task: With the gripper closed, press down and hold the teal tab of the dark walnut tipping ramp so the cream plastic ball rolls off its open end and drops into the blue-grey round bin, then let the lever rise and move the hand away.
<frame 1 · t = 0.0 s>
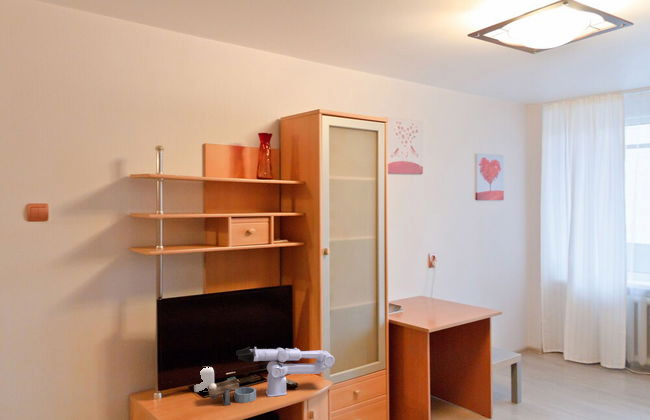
hand: (237, 355, 256), 22 cm above the table, tool horizontal, fingers open, 7 cm apart
white upright shaped piece: (204, 391, 266), on the table
lever stand: (226, 400, 252), on the table
ball: (212, 387, 250), point 8 cm above the table, tilted 40°, touching tipping ramp
tipping ramp: (222, 386, 255), point 6 cm above the table, hinge at 10.0°, touching ball
blue-grey round bin: (245, 398, 255), on the table
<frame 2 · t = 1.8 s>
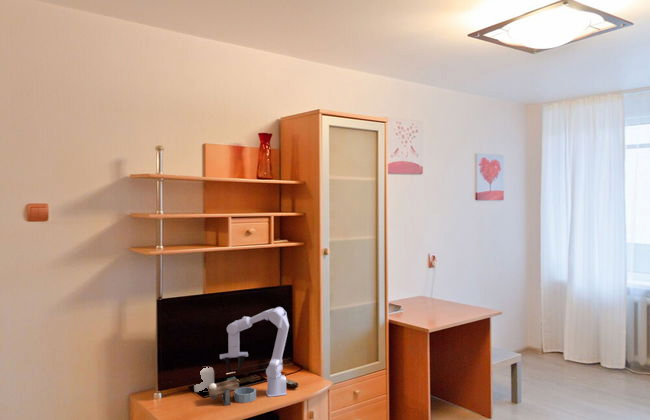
hand: (234, 371, 267), 10 cm above the table, tool pointing down, fingers open, 5 cm apart
nothing on the table moved.
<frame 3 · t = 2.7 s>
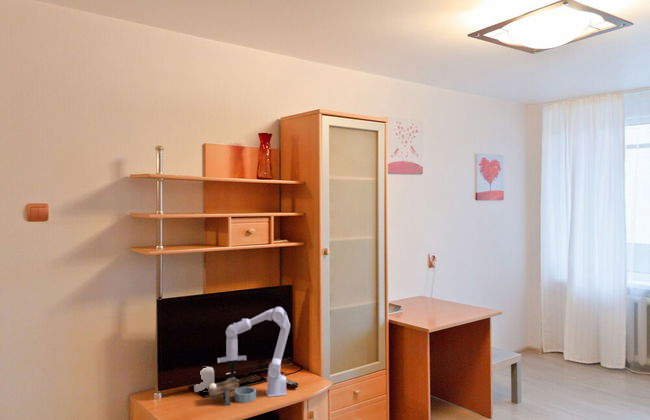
hand: (232, 375, 261), 10 cm above the table, tool pointing down, fingers closed
nothing on the table moved.
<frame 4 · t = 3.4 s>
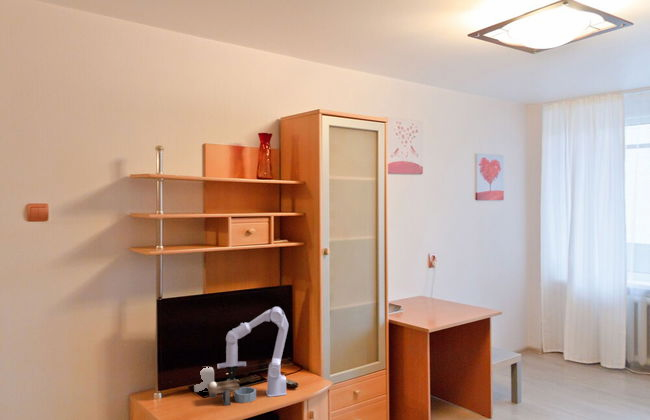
hand: (231, 381, 260), 7 cm above the table, tool pointing down, fingers closed, pressing on tipping ramp
ball: (213, 385, 250), point 8 cm above the table, tilted 32°, touching tipping ramp
tipping ramp: (222, 386, 255), point 6 cm above the table, hinge at 2.8°, touching ball, gripper
everything else where it was.
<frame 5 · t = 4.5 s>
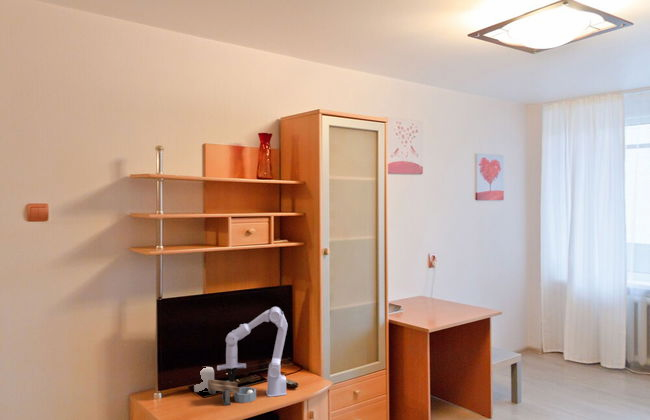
hand: (231, 382, 260), 6 cm above the table, tool pointing down, fingers closed
ball: (250, 393, 256), point 2 cm above the table, tilted 140°, touching blue-grey round bin
tipping ramp: (222, 385, 255), point 7 cm above the table, hinge at -12.9°, touching gripper
everything else where it was.
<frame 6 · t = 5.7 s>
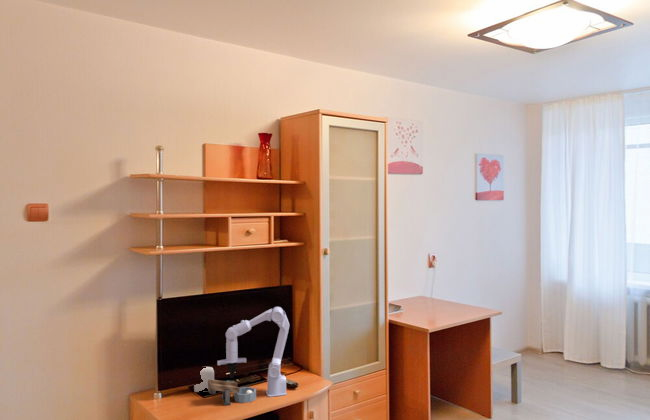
hand: (232, 377, 260), 9 cm above the table, tool pointing down, fingers closed
ball: (249, 393, 256), point 2 cm above the table, tilted 157°, touching blue-grey round bin
tipping ramp: (222, 385, 255), point 7 cm above the table, hinge at -12.9°
everything else where it was.
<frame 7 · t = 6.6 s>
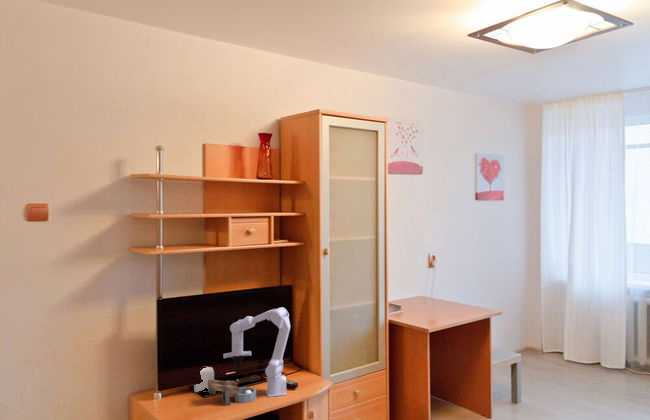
hand: (237, 370, 269), 10 cm above the table, tool pointing down, fingers closed
ball: (248, 393, 255), point 2 cm above the table, tilted 170°, touching blue-grey round bin
everything else where it was.
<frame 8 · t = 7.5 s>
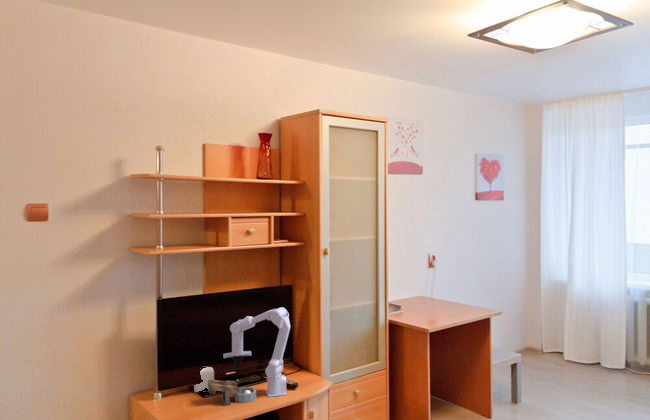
hand: (237, 370, 269), 10 cm above the table, tool pointing down, fingers closed
ball: (247, 393, 255), point 2 cm above the table, tilted 177°, touching blue-grey round bin
everything else where it was.
at the end: ball inside the target area on the blue-grey round bin (1.1 cm from its centre), point 2.3 cm above the blue-grey round bin's base; ball touching blue-grey round bin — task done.
